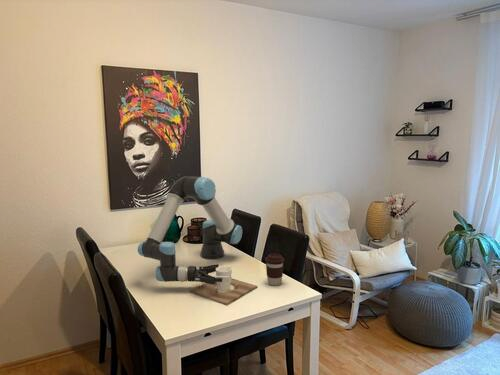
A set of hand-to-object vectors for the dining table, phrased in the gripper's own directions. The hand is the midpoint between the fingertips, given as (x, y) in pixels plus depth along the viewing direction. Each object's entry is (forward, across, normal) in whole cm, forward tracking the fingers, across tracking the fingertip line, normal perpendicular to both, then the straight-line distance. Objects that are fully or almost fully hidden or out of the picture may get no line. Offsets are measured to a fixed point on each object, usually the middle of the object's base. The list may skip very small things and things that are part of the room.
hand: (230, 273), depth 185 cm
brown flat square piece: (-3, 0, -8) cm, 9 cm away
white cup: (-3, 0, -8) cm, 8 cm away
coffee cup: (+22, -9, -9) cm, 26 cm away
